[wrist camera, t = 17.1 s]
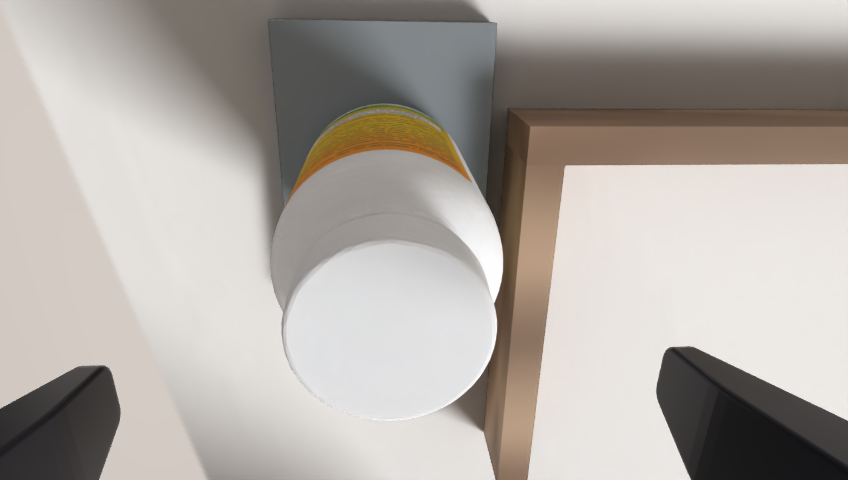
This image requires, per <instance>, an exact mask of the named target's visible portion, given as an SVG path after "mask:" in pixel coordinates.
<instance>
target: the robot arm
mask: <svg viewBox="0 0 848 480" xmlns="http://www.w3.org/2000/svg"><path fill="white" fill-rule="evenodd" d="M656 393H657V399H658V402H659V405H660V407H661V410H662V412H663V415H664V417H665V419H666V422H667V424H668V427H669V429H670V431H671V434H672V436H673V439H674V441H675V443H676V446H677V448H678V451H679V453H680V455H681V458H682V460H683V462H684V465H685V467H686V470H687V472H688V474H689V476H690V478H691V480H848V421H847V420H845V419H843V418H841V417H839V416H837V415H835V414H833V413H831V412H828V411H826V410H824V409H822V408H820V407H818V406H816V405H814V404H812V403H810V402H807V401H805V400H803V399H801V398H799V397H797V396H795V395H793V394H791V393H789V392H787V391H784V390H782V389H780V388H778V387H776V386H774V385H772V384H770V383H768V382H766V381H764V380H761V379H759V378H757V377H755V376H753V375H751V374H749V373H747V372H745V371H743V370H741V369H738V368H736V367H734V366H732V365H730V364H728V363H726V362H724V361H722V360H720V359H718V358H715V357H713V356H711V355H709V354H707V353H705V352H703V351H701V350H699V349H697V348H694V347H690V346H688V347H670V348H668V349H667V350H666V351H665V353H664V356H663V360H662V364H661V369H660V373H659V378H658V382H657V388H656ZM119 421H120V405H119V401H118V396H117V393H116V389H115V385H114V380H113V376H112V373H111V371H110V369H109V368H108V367H106V366H104V365H102V366H101V365H100V366H79V367H76V368H74V369H73V370H71V371H69V372H67V373H65V374H63V375H62V376H60V377H58V378H56V379H54V380H52V381H51V382H49V383H47V384H45V385H43V386H41V387H39V388H38V389H36V390H34V391H32V392H30V393H28V394H27V395H25V396H23V397H21V398H19V399H17V400H16V401H14V402H12V403H10V404H8V405H6V406H4V407H3V408H1V409H0V480H99V478H100V475H101V472H102V469H103V467H104V464H105V461H106V458H107V456H108V453H109V450H110V447H111V444H112V441H113V439H114V436H115V433H116V430H117V427H118V425H119Z"/></svg>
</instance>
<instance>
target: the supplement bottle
mask: <svg viewBox="0 0 848 480" xmlns="http://www.w3.org/2000/svg"><path fill="white" fill-rule="evenodd" d="M270 265H271V277H272V283H273V288H274V292H275V295H276V298H277V300H278V303H279V305H280V307H281V309H282V311H283V317H282V340H283V346H284V351H285V354H286V357H287V360H288V362H289V364H290V366H291V369H292V370H293V372H294V374H295V375H296V376H297V378H298V379H299V381H300V382H301V383H302V384H303V386H304V387H305V388H306V389H307V390H308V391H309V392H310V393H312V394H313V395H314V396H315V397H316V398H318V399H319V400H321V401H322V402H323V403H325V404H327V405H329V406H331V407H332V408H334V409H336V410H338V411H341V412H343V413H346V414H348V415H352V416H355V417H359V418H364V419H369V420H380V421H395V420H405V419H411V418H416V417H420V416H423V415H426V414H429V413H432V412H434V411H437V410H439V409H441V408H443V407H445V406H447V405H449V404H451V403H452V402H453V401H455V400H456V399H458V398H459V397H460V396H462V395H463V394H464V393H465V392H466V391H467V390H468V389H470V388H471V387H472V385H473V384H474V383H475V382H476V381H477V380H478V378H479V377H480V376H481V374H482V373H483V371H484V369H485V368H486V366H487V364H488V362H489V361H490V358H491V355H492V352H493V349H494V346H495V341H496V334H497V317H496V310H495V306H494V302H495V300H496V297H497V295H498V292H499V288H500V284H501V280H502V273H503V250H502V244H501V239H500V234H499V231H498V228H497V225H496V222H495V219H494V217H493V215H492V212H491V210H490V208H489V206H488V204H487V203H486V201H485V199H484V197H483V195H482V193H481V192H480V190H479V188H478V186H477V184H476V182H475V180H474V178H473V176H472V174H471V172H470V170H469V168H468V166H467V164H466V162H465V161H464V159H463V157H462V155H461V153H460V151H459V149H458V147H457V145H456V144H455V142H454V141H453V139H452V138H451V137H450V135H449V134H448V133H447V131H446V130H445V129H444V128H443V127H442V126H441V125H439V124H438V123H437V122H436V121H435V120H433V119H432V118H430V117H429V116H427V115H426V114H424V113H422V112H420V111H418V110H415V109H413V108H410V107H406V106H403V105H398V104H387V103H381V104H372V105H367V106H363V107H359V108H356V109H354V110H351V111H349V112H347V113H345V114H343V115H342V116H340V117H338V118H337V119H336V120H334V121H333V122H332V123H331V124H329V125H328V126H327V127H326V128H325V129H324V131H323V132H322V133H321V134H320V136H319V137H318V138H317V140H316V141H315V143H314V145H313V146H312V148H311V150H310V152H309V154H308V156H307V159H306V161H305V163H304V166H303V168H302V170H301V172H300V174H299V177H298V179H297V181H296V184H295V186H294V188H293V190H292V192H291V194H290V196H289V198H288V201H287V203H286V205H285V207H284V209H283V211H282V214H281V216H280V218H279V221H278V223H277V227H276V230H275V234H274V237H273V242H272V248H271V260H270Z"/></svg>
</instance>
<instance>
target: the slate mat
mask: <svg viewBox="0 0 848 480" xmlns="http://www.w3.org/2000/svg"><path fill="white" fill-rule="evenodd" d="M268 26H269V38H270V50H271V61H272V73H273V85H274V96H275V108H276V120H277V131H278V143H279V155H280V166H281V178H282V190H283V201H284V207H285V205H286V203H287V201H288V198H289V196H290V194H291V192H292V190H293V188H294V186H295V184H296V181H297V179H298V177H299V174H300V172H301V170H302V168H303V166H304V163H305V161H306V159H307V156H308V154H309V152H310V150H311V148H312V146H313V145H314V143H315V141H316V140H317V138H318V137H319V136H320V134H321V133H322V132H323V131H324V129H325V128H326V127H327V126H328V125H329V124H331V123H332V122H333V121H334V120H336V119H337V118H338V117H340V116H342V115H343V114H345V113H347V112H349V111H351V110H354V109H356V108H359V107H363V106H367V105H372V104H381V103H387V104H398V105H403V106H406V107H410V108H413V109H415V110H418V111H420V112H422V113H424V114H426V115H427V116H429V117H430V118H432V119H433V120H435V121H436V122H437V123H438V124H439V125H441V126H442V127H443V128H444V129H445V130H446V131H447V133H448V134H449V135H450V137H451V138H452V139H453V141H454V142H455V144H456V145H457V147H458V149H459V151H460V153H461V155H462V157H463V159H464V161H465V162H466V164H467V166H468V168H469V170H470V172H471V174H472V176H473V178H474V180H475V182H476V184H477V186H478V188H479V190H480V192H481V193H482V195H483V197H484V199H485V201H486V189H487V173H488V157H489V141H490V126H491V110H492V94H493V79H494V63H495V47H496V32H497V23H493V22H448V21H385V20H323V19H269V20H268Z"/></svg>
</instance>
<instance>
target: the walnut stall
mask: <svg viewBox="0 0 848 480" xmlns="http://www.w3.org/2000/svg"><path fill="white" fill-rule="evenodd" d="M720 164H848V110H729V109H508V122H507V135H506V148H505V162H504V175H503V188H502V201H501V215H500V228H499V234H500V239H501V244H502V250H503V273H502V280H501V284H500V288H499V292H498V295H497V297H496V300H495V302H494V306H495V310H496V317H497V334H496V341H495V346H494V349H493V352H492V355H491V358H490V361H489V374H488V387H487V400H486V413H485V427H484V435H485V439H486V443H487V447H488V451H489V455H490V459H491V463H492V467H493V471H494V475H495V479H496V480H527V478H528V470H529V462H530V453H531V445H532V436H533V428H534V420H535V411H536V403H537V394H538V386H539V378H540V369H541V361H542V353H543V344H544V336H545V327H546V319H547V311H548V302H549V294H550V285H551V277H552V269H553V260H554V252H555V243H556V235H557V227H558V218H559V210H560V201H561V193H562V185H563V176H564V168H565V165H720Z"/></svg>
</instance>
